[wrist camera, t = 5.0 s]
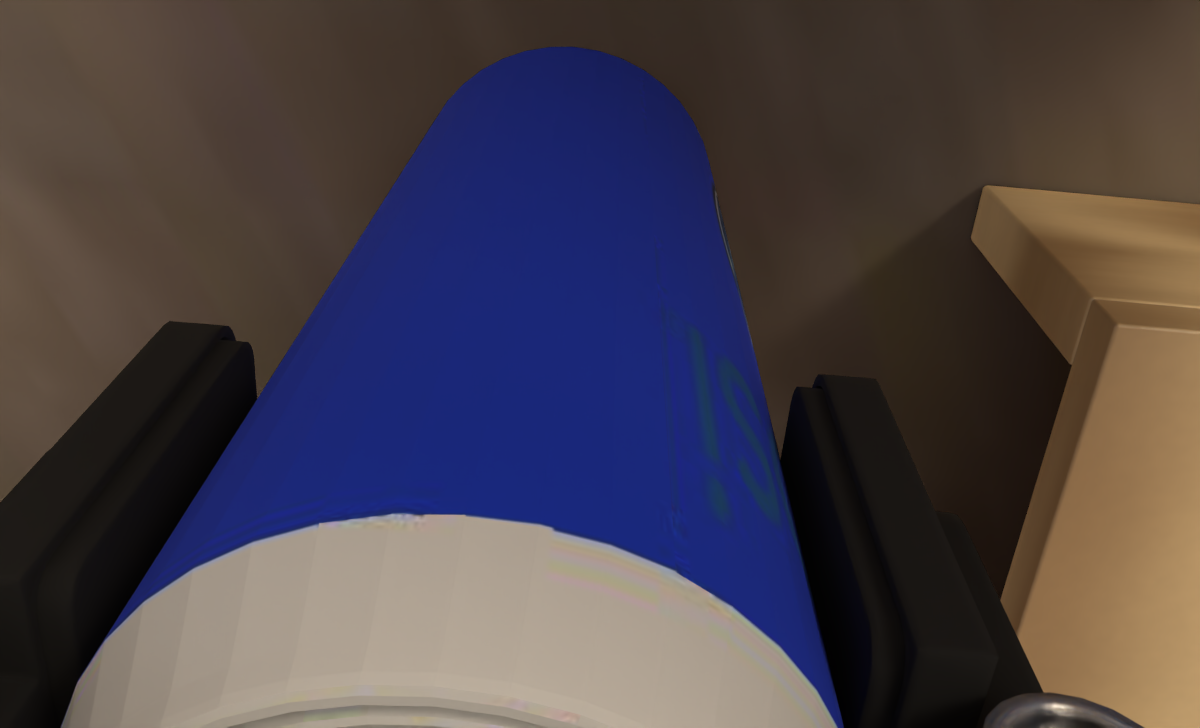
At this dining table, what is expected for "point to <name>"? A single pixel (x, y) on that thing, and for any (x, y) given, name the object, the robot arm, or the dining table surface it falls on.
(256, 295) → the dining table surface
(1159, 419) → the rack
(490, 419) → the beverage can
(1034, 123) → the dining table surface
